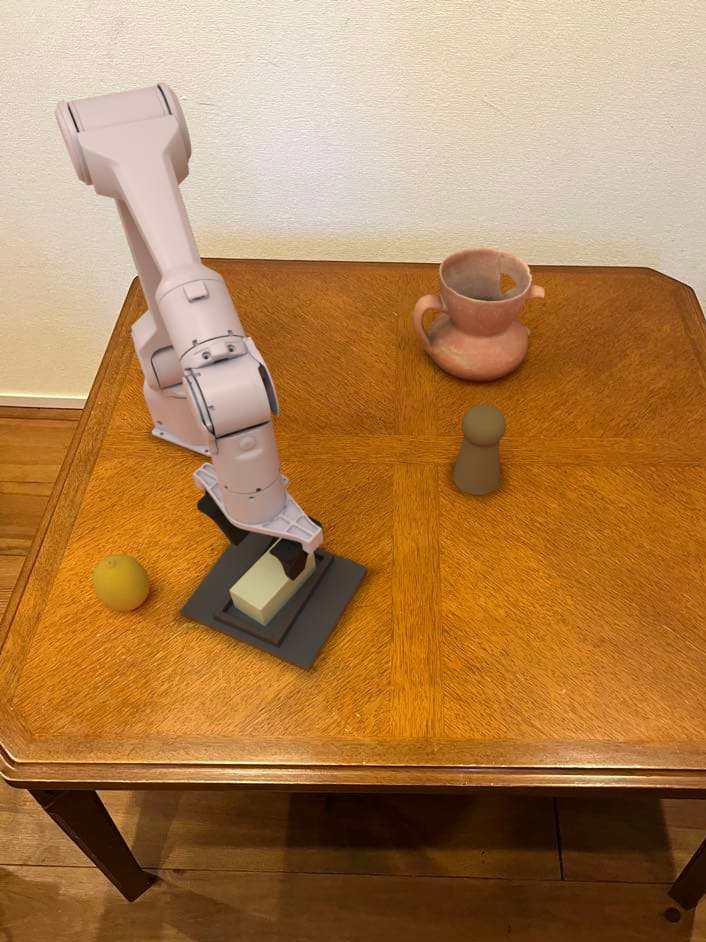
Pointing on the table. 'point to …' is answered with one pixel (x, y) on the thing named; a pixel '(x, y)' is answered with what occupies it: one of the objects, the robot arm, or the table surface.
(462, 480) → the brown pawn
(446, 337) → the ceramic jug
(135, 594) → the lemon
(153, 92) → the robot arm
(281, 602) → the cream rectangular block
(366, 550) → the table surface
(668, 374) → the table surface
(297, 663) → the base pad
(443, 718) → the table surface
